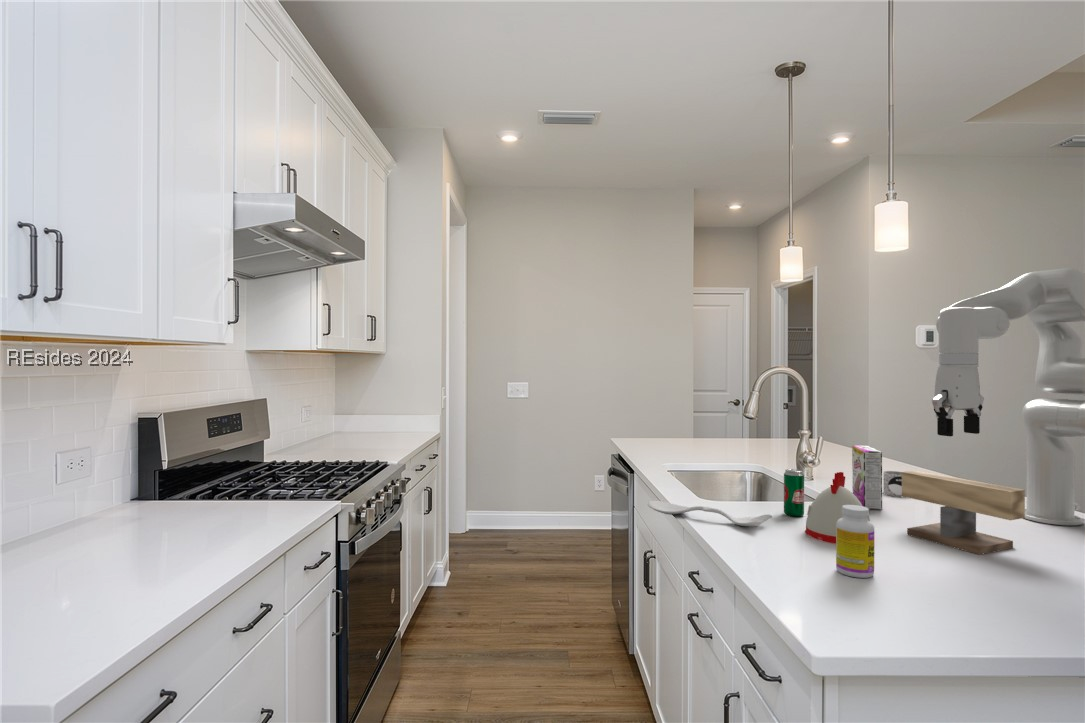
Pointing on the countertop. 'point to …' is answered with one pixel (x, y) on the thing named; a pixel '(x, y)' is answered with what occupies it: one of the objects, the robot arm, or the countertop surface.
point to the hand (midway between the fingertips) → (958, 434)
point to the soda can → (794, 492)
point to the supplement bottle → (855, 542)
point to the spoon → (677, 509)
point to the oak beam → (965, 494)
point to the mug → (892, 483)
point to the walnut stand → (959, 532)
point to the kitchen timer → (829, 510)
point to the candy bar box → (867, 476)
